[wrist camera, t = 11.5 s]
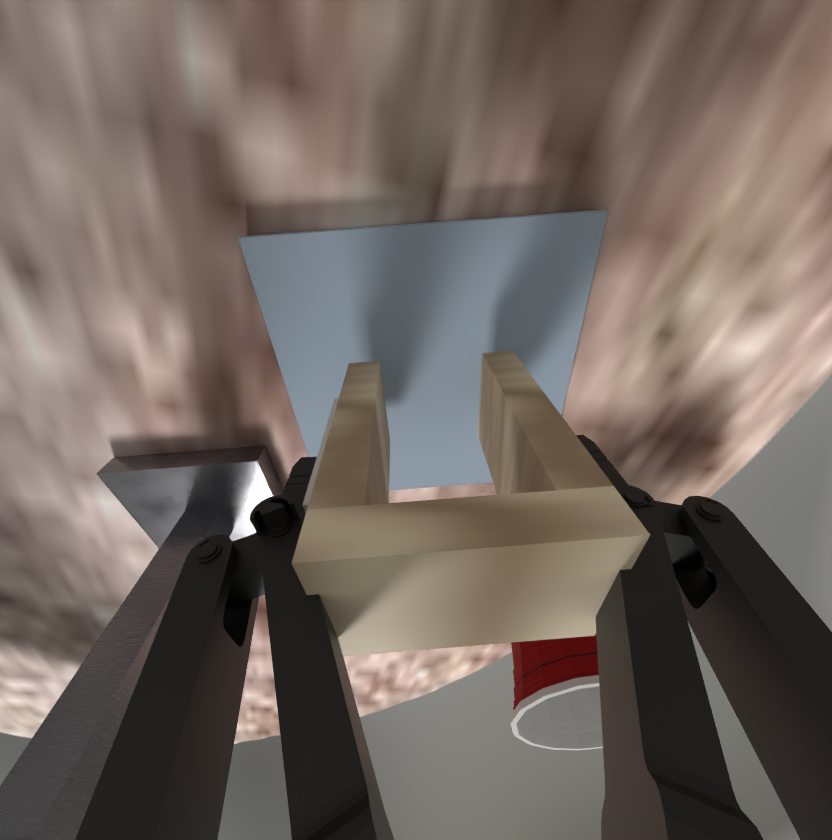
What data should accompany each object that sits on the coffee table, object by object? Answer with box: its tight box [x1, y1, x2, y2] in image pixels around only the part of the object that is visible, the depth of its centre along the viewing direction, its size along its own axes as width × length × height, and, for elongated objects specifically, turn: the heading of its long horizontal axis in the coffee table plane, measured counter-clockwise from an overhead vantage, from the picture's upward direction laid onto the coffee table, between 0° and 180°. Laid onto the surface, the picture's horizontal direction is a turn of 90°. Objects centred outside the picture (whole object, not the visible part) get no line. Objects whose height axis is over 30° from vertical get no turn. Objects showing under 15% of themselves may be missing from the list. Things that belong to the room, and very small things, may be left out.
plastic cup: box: [511, 634, 603, 750], centre depth 25 cm, size 11×11×12 cm
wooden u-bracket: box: [292, 351, 650, 656], centre depth 13 cm, size 8×5×10 cm, turn 93°
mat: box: [238, 210, 608, 490], centre depth 19 cm, size 16×16×1 cm
